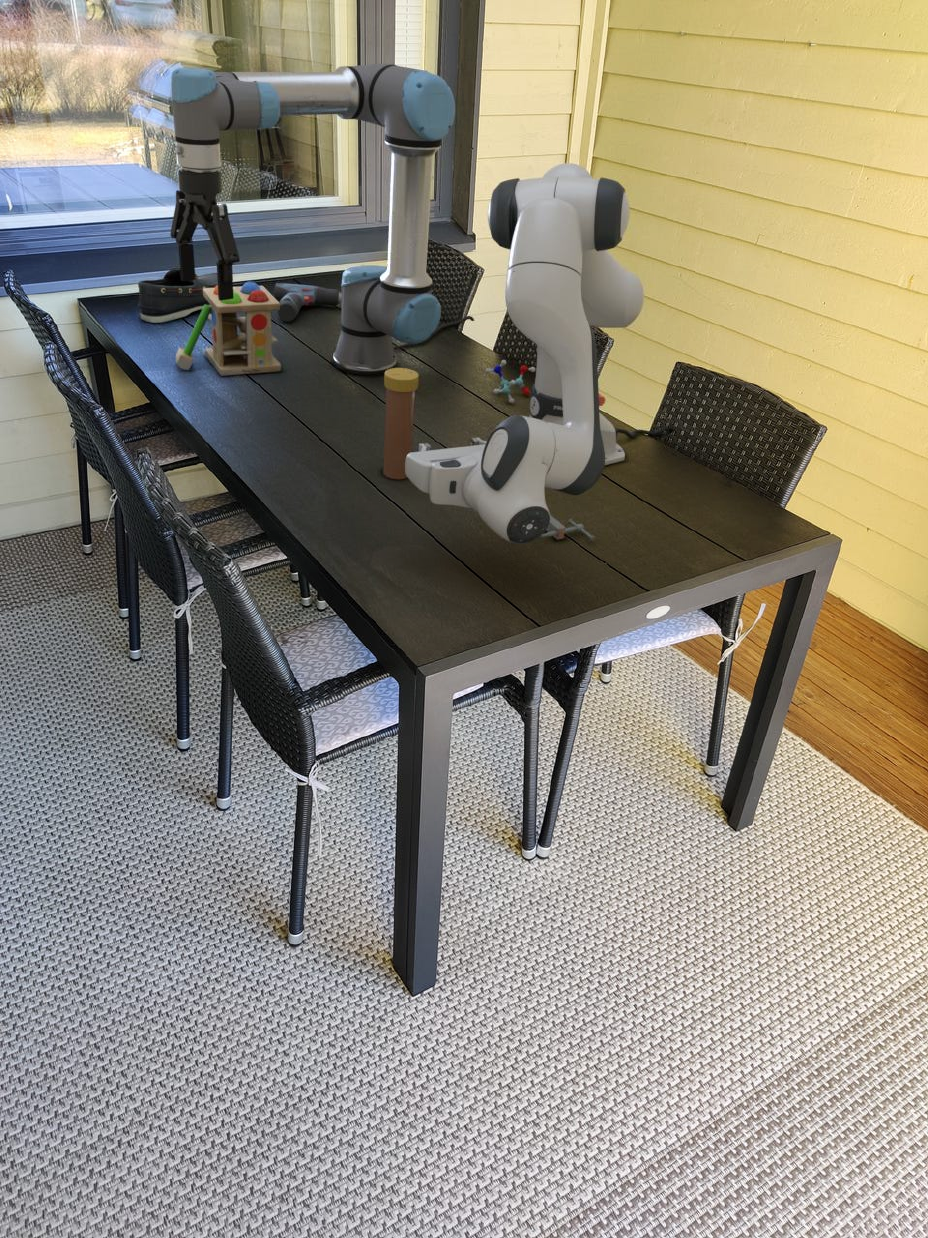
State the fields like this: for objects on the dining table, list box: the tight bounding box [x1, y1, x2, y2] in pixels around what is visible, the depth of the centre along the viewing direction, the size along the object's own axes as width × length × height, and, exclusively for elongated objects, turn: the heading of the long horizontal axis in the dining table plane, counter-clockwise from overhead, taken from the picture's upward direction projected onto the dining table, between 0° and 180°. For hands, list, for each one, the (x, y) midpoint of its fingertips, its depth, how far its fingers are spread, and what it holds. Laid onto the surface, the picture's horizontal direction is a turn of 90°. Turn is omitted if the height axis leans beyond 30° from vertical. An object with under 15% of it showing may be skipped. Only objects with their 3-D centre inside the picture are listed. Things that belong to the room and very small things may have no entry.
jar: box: [382, 387, 417, 480], centre depth 185 cm, size 5×5×20 cm
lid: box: [383, 367, 420, 392], centre depth 180 cm, size 6×6×2 cm
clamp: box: [540, 514, 596, 542], centre depth 176 cm, size 15×2×10 cm
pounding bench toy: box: [174, 281, 282, 377], centre depth 225 cm, size 23×14×18 cm, turn 116°
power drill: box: [274, 282, 342, 322], centre depth 265 cm, size 5×19×20 cm
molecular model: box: [485, 359, 536, 405], centre depth 227 cm, size 12×10×10 cm
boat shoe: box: [137, 266, 218, 324], centre depth 260 cm, size 13×33×10 cm, turn 147°
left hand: (206, 289), depth 186 cm, fingers open, 13 cm apart
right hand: (448, 444), depth 166 cm, fingers open, 8 cm apart
